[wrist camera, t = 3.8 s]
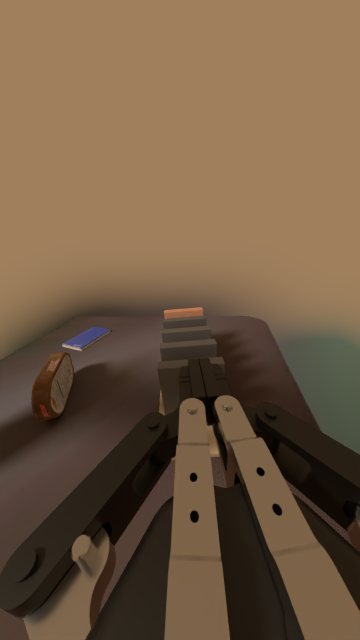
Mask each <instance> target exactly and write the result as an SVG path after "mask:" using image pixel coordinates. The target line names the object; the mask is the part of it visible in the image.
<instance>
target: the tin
mask: <svg viewBox="0 0 360 640" xmlns="http://www.w3.org/2000/svg"><path fill="white" fill-rule="evenodd" d="M73 381H74V368H73V365H72V361H71V358H70V355H69V354H68V353H66V352H64V353H53V354H52V355H51V356H50V357H49V359H48V361H47V362H46V364H45V365H44V367H43V368H42V370H41V372H40V373H39V375H38V376H37V378H36V380H35V382H34V385H33V390H32V408H33V412H34V415H35V417H36V418H37V419H38V420H39V421H45V420H48V419H52V418H56V417H58V416H60V415H61V414H62V413H63V411H64V408H65V405H66V402H67V400H68V397H69V394H70V391H71V388H72V385H73Z"/></svg>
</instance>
